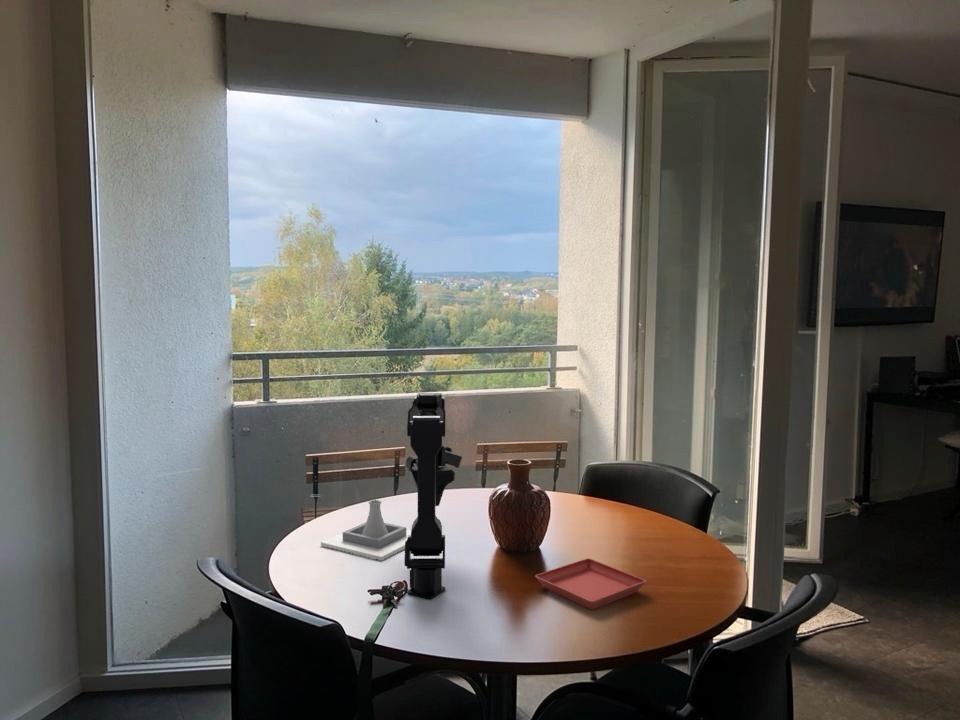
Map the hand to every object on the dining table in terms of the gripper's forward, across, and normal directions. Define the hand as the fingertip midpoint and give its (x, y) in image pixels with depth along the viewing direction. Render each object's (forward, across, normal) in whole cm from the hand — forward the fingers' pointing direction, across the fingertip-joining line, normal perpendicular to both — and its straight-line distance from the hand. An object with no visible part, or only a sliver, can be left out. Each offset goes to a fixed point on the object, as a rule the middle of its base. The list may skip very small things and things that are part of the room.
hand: (429, 501), depth 186 cm
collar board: (+13, +12, +11) cm, 21 cm away
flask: (+12, +12, +11) cm, 20 cm away
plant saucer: (+14, -39, -23) cm, 47 cm away
